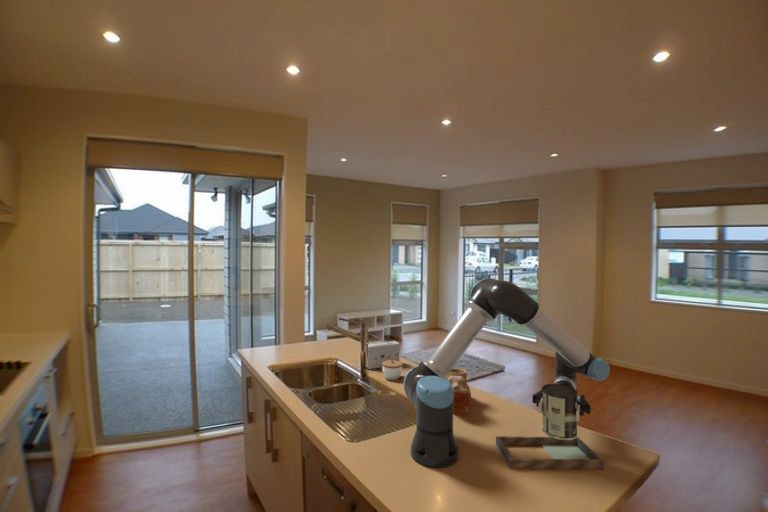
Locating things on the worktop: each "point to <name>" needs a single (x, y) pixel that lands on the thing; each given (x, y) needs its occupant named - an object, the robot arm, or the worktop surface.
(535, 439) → the wooden serving tray
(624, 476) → the worktop surface
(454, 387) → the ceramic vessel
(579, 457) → the pad
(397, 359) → the stereo radio cassette player
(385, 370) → the lidded jar
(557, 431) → the coffee can
